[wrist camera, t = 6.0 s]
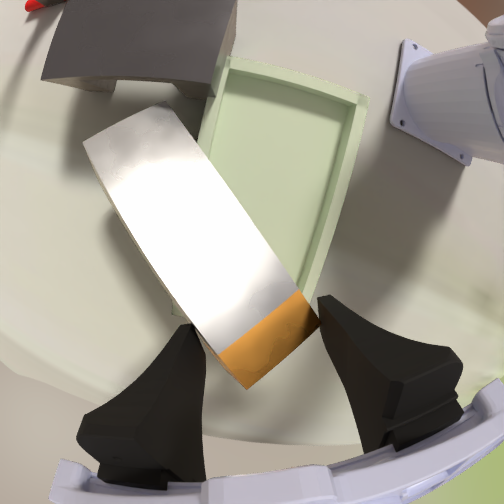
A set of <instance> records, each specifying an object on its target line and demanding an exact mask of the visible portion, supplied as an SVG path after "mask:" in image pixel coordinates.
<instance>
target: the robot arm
mask: <svg viewBox="0 0 504 504" xmlns="http://www.w3.org/2000/svg"><path fill="white" fill-rule="evenodd" d="M485 36H486V39H487V40H488V42H486V43H480V44H475V45H470V46H466V47H461V48H457V49H452V50H448V51H444V52H441V53H437V54H433V53H432V52H430V51H428V50H427V49H425V48H424V47H422V46H421V45H419V44H417V43H416V42H414V41H412V40H411V39H408V38H406V39H404V40H403V42H402V50H401V58H400V64H399V71H398V77H397V83H396V89H395V94H394V99H393V104H392V109H391V114H390V123H391V125H392V126H394V127H396V128H398V129H400V130H402V131H404V132H406V133H408V134H410V135H412V136H414V137H416V138H418V139H420V140H422V141H424V142H425V143H427V144H429V145H431V146H433V147H435V148H436V149H438V150H440V151H442V152H443V153H445V154H447V155H448V156H450V157H452V158H453V159H455V160H457V161H458V162H460V163H462V164H463V165H465V166H470V164H471V161H472V157H475V158H480V159H484V160H488V161H493V162H497V163H500V164H504V15H502V16H499V17H497V18H495V19H493V20H491V21H490V22H489V23H488V27H487V31H486V33H485ZM412 45H413V46H414V47H415V49H414V48H413V46H412ZM400 121H402V122H403V125H402V126H401V125H400ZM460 155H461V158H460ZM317 300H318V311H319V320H320V321H321V326H320V332H321V335H322V339H323V342H324V344H325V347H326V350H327V352H328V354H329V356H330V358H331V360H332V362H333V365H334V367H335V369H336V371H337V373H338V375H339V377H340V379H341V381H342V383H343V385H344V388H345V390H346V393H347V396H348V399H349V402H350V405H351V408H352V412H353V415H354V418H355V421H356V425H357V428H358V432H359V436H360V439H361V443H362V447H363V452H364V454H363V455H360V456H357V457H355V458H351V459H348V460H345V461H341V462H338V463H334V464H330V465H327V466H324V465H314V464H312V465H304V466H297V467H292V468H286V469H281V470H275V471H268V472H261V473H253V474H243V475H233V476H221V477H214V478H210V479H208V480H206V474H205V466H204V457H203V444H202V405H203V396H204V387H205V378H206V355H205V352H204V350H203V347H202V345H201V343H200V340H199V338H198V335H197V333H196V330H195V328H194V326H193V325H192V324H191V323H190V324H184V325H180V326H179V328H178V329H177V330H176V332H175V333H174V335H173V336H172V337H171V339H170V340H169V342H168V343H167V344H166V346H165V347H164V348H163V350H162V351H161V352H160V354H159V355H158V356H157V357H156V359H155V360H154V361H153V362H152V363H151V365H150V366H149V367H148V368H147V369H146V370H145V371H144V372H143V373H142V374H141V375H140V376H139V377H138V378H137V379H136V380H135V381H134V382H133V383H132V384H131V385H130V386H128V387H127V388H126V389H125V390H124V391H122V392H121V393H120V394H118V395H117V396H116V397H114V398H113V399H111V400H110V401H108V402H107V403H105V404H104V405H102V406H100V407H99V408H97V409H95V410H93V411H91V412H89V413H87V414H85V415H84V417H83V420H82V423H81V425H80V428H79V430H78V433H77V436H76V440H77V442H78V443H79V445H80V446H81V447H82V448H83V449H84V450H85V451H86V452H87V453H88V454H90V455H91V456H92V457H93V458H94V459H96V460H97V461H98V462H99V463H100V466H99V470H98V473H95V472H91V471H90V470H89V469H88V468H87V467H85V466H83V465H82V464H80V463H77V462H73V461H69V460H65V459H60V462H59V464H58V467H57V471H56V474H55V477H54V481H53V484H52V487H51V491H50V494H49V500H50V501H51V502H53V503H55V504H408V503H410V502H412V501H414V500H416V499H418V498H420V497H422V496H424V495H426V494H428V493H430V492H431V491H433V490H435V489H436V488H438V487H440V486H441V485H443V484H445V483H447V482H448V481H450V480H451V479H453V478H454V477H456V476H458V475H459V474H461V473H462V472H464V471H465V470H466V469H468V468H469V467H471V466H472V465H474V464H475V463H476V462H478V461H479V460H481V459H482V458H483V457H485V456H486V455H487V454H489V453H490V452H491V451H493V450H494V449H495V448H496V447H498V446H499V445H500V444H501V443H502V442H503V441H504V385H503V383H502V382H501V381H500V379H499V378H496V379H495V380H493V381H492V382H491V383H489V384H488V385H486V386H485V387H483V388H482V389H481V390H479V391H478V393H477V394H476V395H475V396H474V398H473V400H472V403H471V404H469V405H467V406H466V407H464V408H463V409H462V408H461V406H460V405H459V403H458V402H457V400H456V399H457V398H458V394H457V393H456V391H455V390H454V389H455V387H456V385H457V383H458V381H459V379H460V376H461V374H462V370H463V363H462V362H461V360H460V359H459V358H458V356H457V355H456V354H455V353H454V351H453V350H452V349H451V348H450V347H446V346H439V345H432V344H426V343H422V342H418V341H414V340H410V339H407V338H404V337H401V336H399V335H396V334H393V333H391V332H389V331H386V330H384V329H382V328H380V327H378V326H376V325H374V324H372V323H370V322H369V321H367V320H365V319H364V318H362V317H361V316H359V315H358V314H356V313H355V312H353V311H352V310H350V309H349V308H347V307H346V306H345V305H343V304H342V303H341V302H339V301H338V300H337V299H335V298H334V297H333V296H331V295H326V296H322V297H318V298H317Z"/></svg>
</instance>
